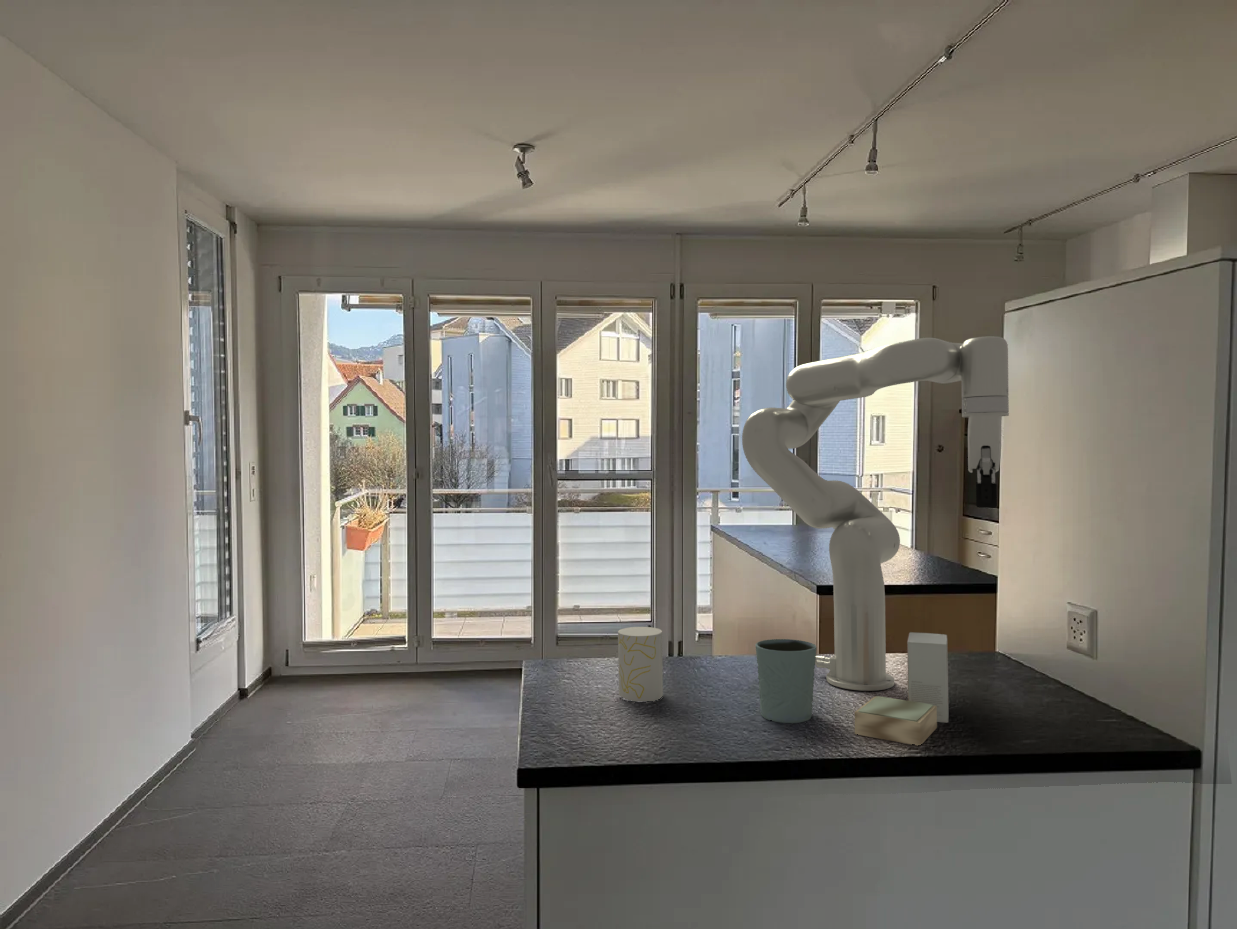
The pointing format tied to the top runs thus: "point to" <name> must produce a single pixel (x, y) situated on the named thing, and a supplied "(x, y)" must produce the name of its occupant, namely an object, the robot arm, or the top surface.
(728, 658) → the top surface
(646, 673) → the cream patterned cylinder
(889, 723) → the plinth
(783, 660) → the green tumbler
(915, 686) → the small box
